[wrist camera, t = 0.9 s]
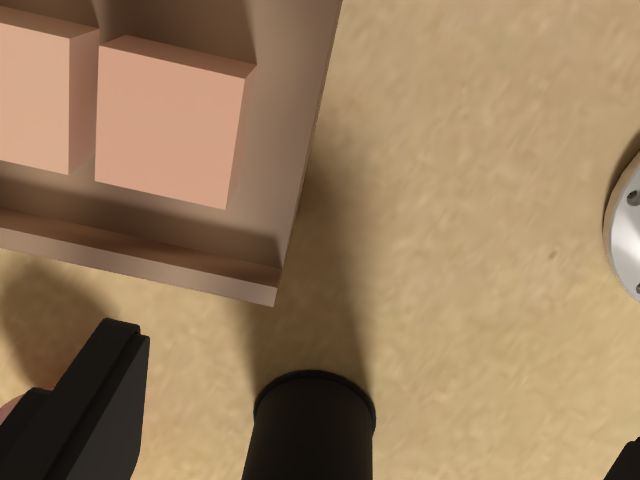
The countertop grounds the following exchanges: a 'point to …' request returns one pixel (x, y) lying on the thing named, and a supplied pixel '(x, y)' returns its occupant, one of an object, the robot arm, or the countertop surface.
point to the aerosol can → (311, 430)
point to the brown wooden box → (177, 215)
